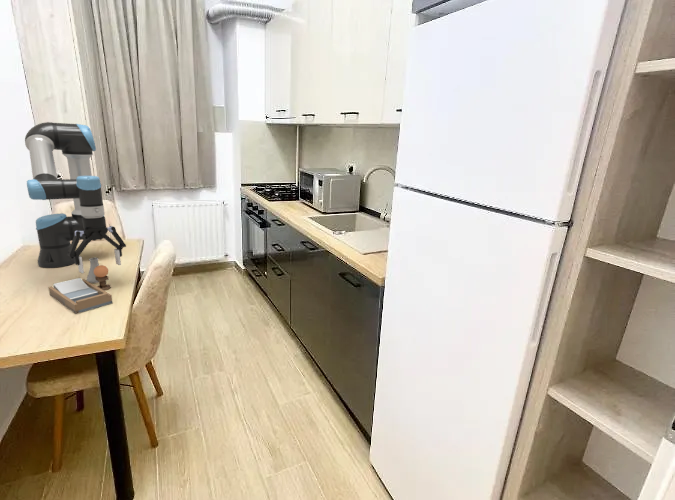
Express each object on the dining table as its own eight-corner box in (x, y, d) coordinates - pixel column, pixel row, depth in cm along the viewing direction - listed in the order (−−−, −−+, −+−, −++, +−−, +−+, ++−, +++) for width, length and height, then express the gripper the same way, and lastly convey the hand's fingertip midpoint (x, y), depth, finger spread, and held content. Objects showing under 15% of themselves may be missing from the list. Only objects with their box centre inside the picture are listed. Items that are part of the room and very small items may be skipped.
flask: (110, 279, 157) (107, 257, 154) (95, 284, 151) (91, 262, 148) (98, 276, 159) (95, 255, 157) (82, 281, 153) (79, 259, 150)
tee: (93, 288, 147) (92, 276, 145) (107, 285, 151) (105, 273, 149) (99, 291, 144) (97, 279, 143) (112, 288, 148) (111, 276, 147)
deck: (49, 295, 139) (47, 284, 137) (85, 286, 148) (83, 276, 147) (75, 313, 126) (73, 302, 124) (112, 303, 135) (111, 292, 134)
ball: (92, 277, 145) (90, 265, 144) (105, 274, 149) (104, 262, 148) (97, 280, 143) (96, 268, 141) (111, 277, 147) (109, 265, 145)
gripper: (58, 222, 127) (68, 278, 133) (131, 214, 147) (136, 263, 153) (50, 219, 131) (60, 273, 137) (122, 211, 151) (128, 259, 157)
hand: (100, 268), depth 145 cm, fingers open, 13 cm apart
